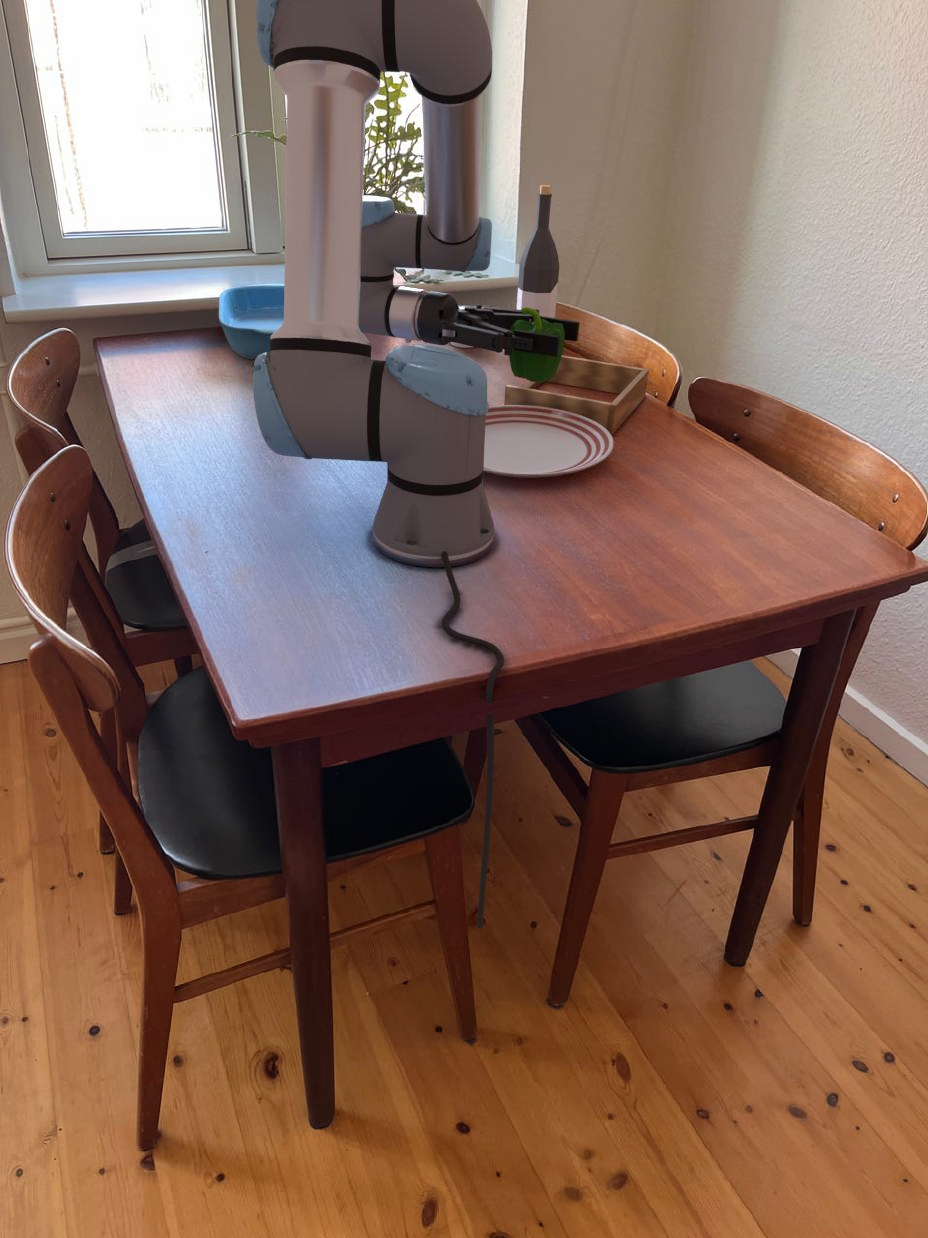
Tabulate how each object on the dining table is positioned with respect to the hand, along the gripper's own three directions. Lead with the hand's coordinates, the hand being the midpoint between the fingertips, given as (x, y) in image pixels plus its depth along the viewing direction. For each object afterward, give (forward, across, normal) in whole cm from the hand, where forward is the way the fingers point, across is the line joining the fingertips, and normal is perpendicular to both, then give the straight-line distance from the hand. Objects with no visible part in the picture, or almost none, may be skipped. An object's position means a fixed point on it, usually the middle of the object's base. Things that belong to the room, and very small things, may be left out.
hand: (568, 338), depth 134 cm
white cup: (-37, -48, -18) cm, 63 cm away
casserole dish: (-70, -30, -18) cm, 78 cm away
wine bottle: (-25, -58, -18) cm, 65 cm away
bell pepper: (-5, 0, -7) cm, 8 cm away
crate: (-5, -24, -18) cm, 30 cm away
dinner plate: (-5, +3, -18) cm, 19 cm away
